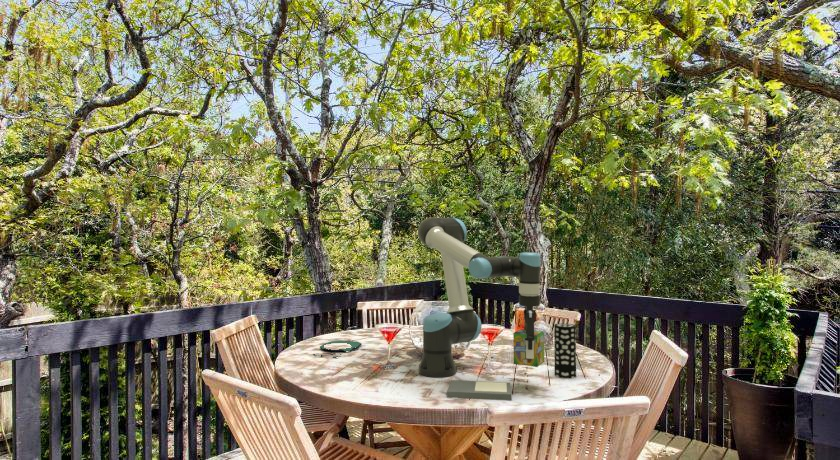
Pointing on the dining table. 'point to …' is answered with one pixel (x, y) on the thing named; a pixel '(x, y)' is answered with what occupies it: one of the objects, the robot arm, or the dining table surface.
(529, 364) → the chalk box
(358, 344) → the green piece
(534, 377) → the dining table surface
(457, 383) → the slate board
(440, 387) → the dining table surface
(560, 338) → the white-spotted black cylinder
